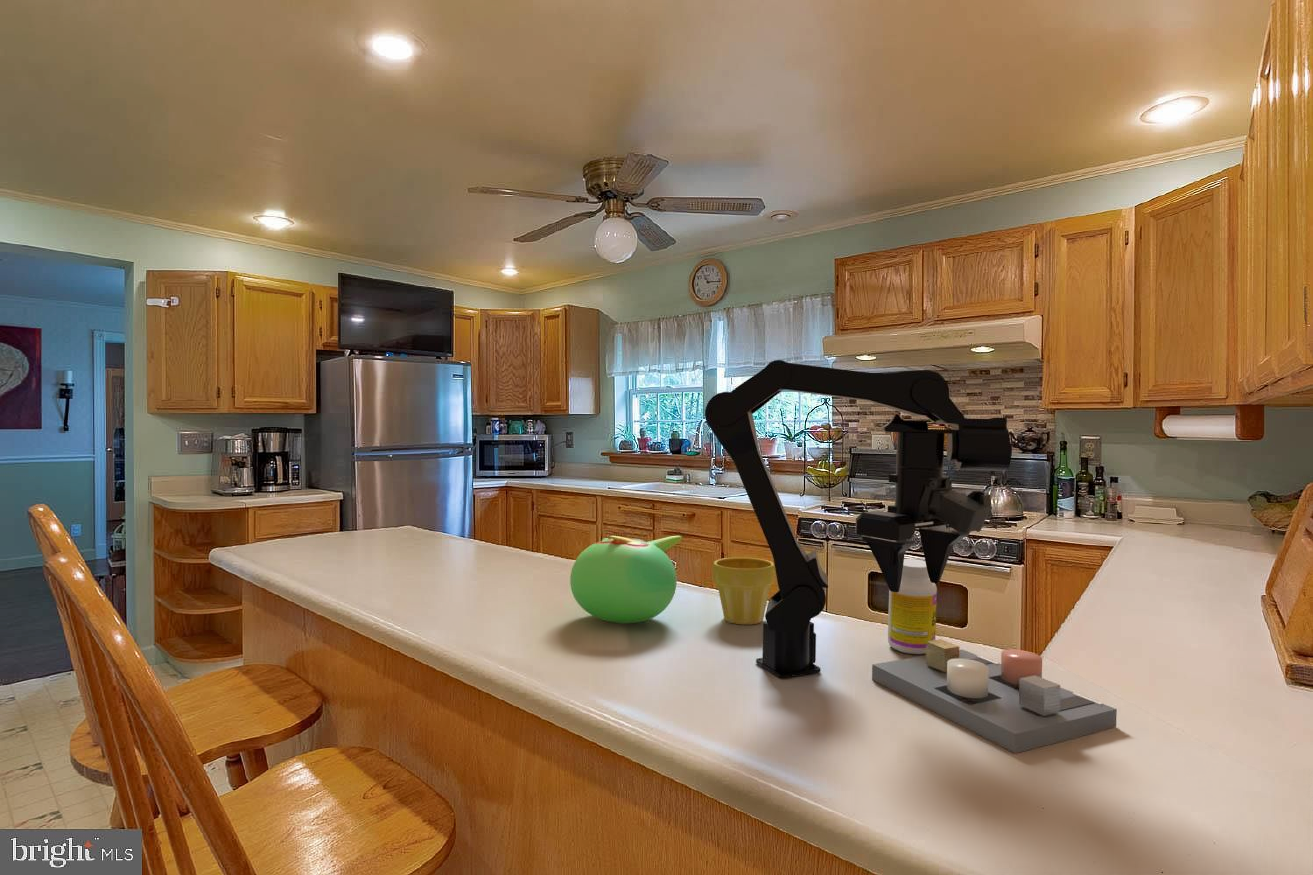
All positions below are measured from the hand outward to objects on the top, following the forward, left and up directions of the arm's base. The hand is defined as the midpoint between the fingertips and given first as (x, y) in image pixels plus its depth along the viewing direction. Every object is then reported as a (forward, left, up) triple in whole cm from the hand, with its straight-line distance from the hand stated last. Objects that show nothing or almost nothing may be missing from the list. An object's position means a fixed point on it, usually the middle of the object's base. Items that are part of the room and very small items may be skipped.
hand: (915, 587), depth 86 cm
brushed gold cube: (+3, -2, -10) cm, 11 cm away
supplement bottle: (+9, +10, -12) cm, 18 cm away
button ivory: (-1, -9, -10) cm, 14 cm away
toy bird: (-26, +39, -13) cm, 48 cm away
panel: (+3, -8, -12) cm, 15 cm away
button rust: (+8, -9, -10) cm, 16 cm away
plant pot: (-7, +32, -13) cm, 35 cm away
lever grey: (+3, -16, -10) cm, 19 cm away
